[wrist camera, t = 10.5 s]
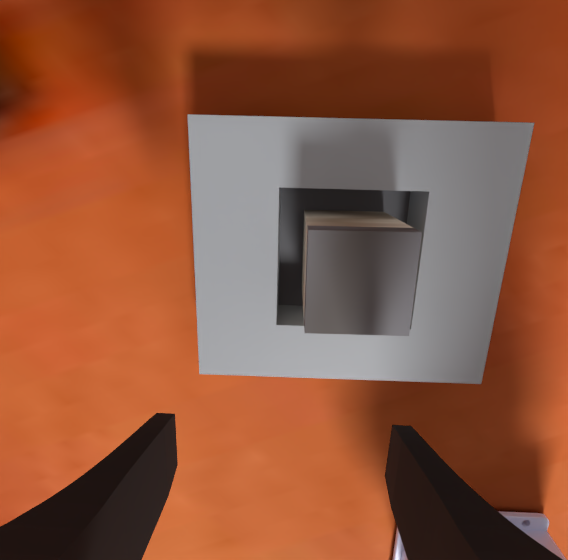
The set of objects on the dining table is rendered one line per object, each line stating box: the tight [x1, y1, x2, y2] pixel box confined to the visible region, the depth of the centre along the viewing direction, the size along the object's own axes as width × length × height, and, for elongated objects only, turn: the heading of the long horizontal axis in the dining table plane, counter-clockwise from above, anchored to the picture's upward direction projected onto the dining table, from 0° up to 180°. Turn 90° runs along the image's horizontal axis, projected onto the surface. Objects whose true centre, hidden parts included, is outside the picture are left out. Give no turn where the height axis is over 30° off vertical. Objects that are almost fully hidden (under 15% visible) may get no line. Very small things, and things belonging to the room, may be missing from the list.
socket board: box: [188, 114, 534, 384], centre depth 19 cm, size 14×12×3 cm
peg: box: [302, 210, 422, 336], centre depth 17 cm, size 4×4×6 cm
